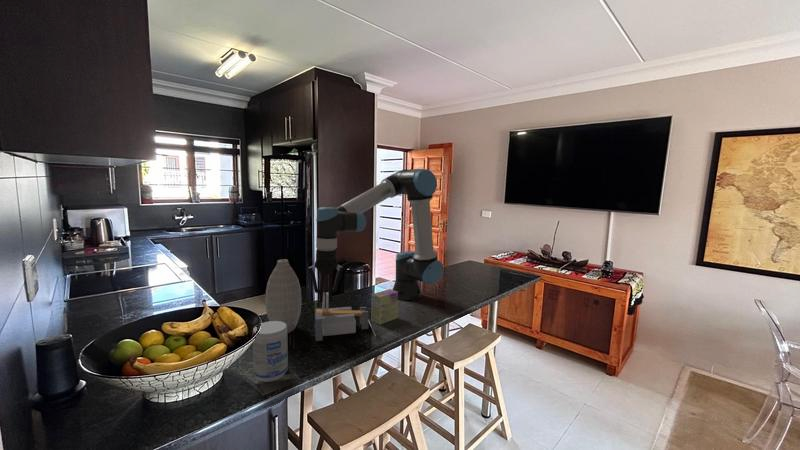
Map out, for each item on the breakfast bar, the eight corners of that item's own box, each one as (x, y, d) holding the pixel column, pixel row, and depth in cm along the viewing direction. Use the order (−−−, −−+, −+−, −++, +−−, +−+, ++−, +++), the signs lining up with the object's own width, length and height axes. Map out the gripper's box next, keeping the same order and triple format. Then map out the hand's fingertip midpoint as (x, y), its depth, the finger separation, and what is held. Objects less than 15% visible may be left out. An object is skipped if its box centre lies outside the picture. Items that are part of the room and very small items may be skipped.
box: (389, 314, 144) (389, 288, 143) (398, 318, 140) (398, 291, 139) (370, 320, 137) (371, 293, 135) (379, 325, 133) (380, 297, 131)
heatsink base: (367, 319, 138) (367, 301, 137) (376, 338, 121) (376, 317, 120) (308, 324, 132) (308, 305, 131) (309, 345, 115) (308, 324, 114)
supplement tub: (271, 387, 91) (270, 337, 89) (246, 379, 95) (244, 330, 93) (294, 369, 100) (294, 323, 98) (270, 362, 103) (269, 318, 102)
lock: (321, 333, 122) (321, 312, 121) (322, 340, 116) (322, 318, 115) (315, 333, 121) (315, 313, 120) (315, 341, 116) (315, 319, 115)
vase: (291, 341, 117) (289, 265, 114) (259, 338, 119) (256, 263, 116) (307, 327, 130) (306, 257, 126) (278, 323, 132) (276, 255, 128)
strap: (365, 313, 130) (365, 309, 130) (366, 317, 127) (367, 313, 126) (315, 312, 125) (315, 308, 125) (315, 316, 121) (316, 312, 121)
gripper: (344, 247, 127) (342, 305, 129) (307, 247, 123) (306, 307, 125) (346, 250, 119) (344, 312, 122) (307, 250, 116) (306, 314, 118)
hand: (325, 310), depth 124 cm, fingers closed
